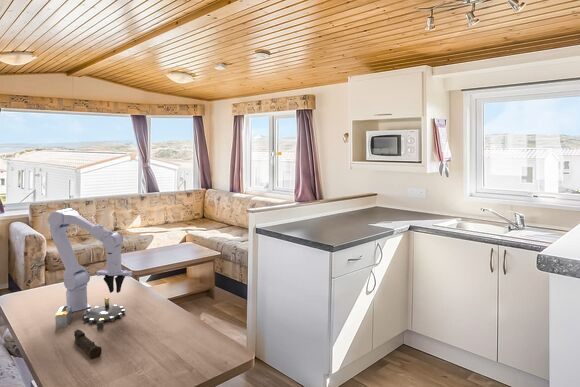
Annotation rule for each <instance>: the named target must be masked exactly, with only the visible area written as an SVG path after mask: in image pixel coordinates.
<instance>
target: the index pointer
mask: <svg viewBox="0 0 580 387" xmlns="http://www.w3.org/2000/svg"><path fill="white" fill-rule="evenodd" d="M104 323H105V322H103V320H98V321H97V322H96V330H103V329H104V325H105V324H104Z"/></svg>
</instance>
